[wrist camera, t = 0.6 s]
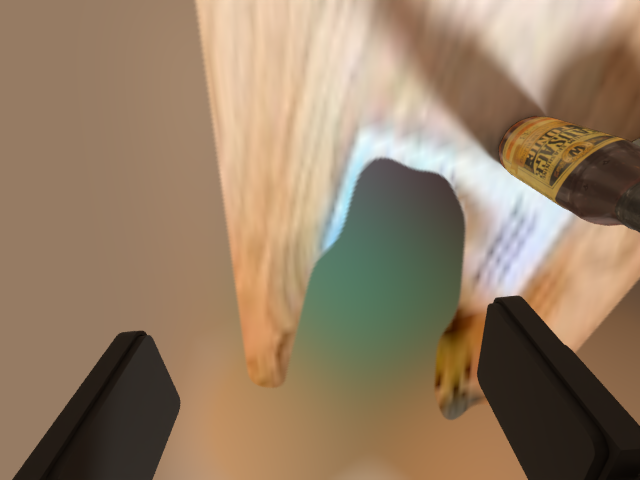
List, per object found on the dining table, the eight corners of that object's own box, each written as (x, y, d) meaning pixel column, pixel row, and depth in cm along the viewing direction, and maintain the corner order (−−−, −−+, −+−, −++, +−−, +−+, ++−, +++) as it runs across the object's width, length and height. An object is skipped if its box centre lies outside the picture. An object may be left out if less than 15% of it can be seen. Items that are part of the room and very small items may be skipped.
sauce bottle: (535, 100, 34) (777, 139, 16) (565, 144, 36) (809, 221, 18) (480, 148, 36) (640, 229, 18) (511, 187, 38) (683, 293, 20)
